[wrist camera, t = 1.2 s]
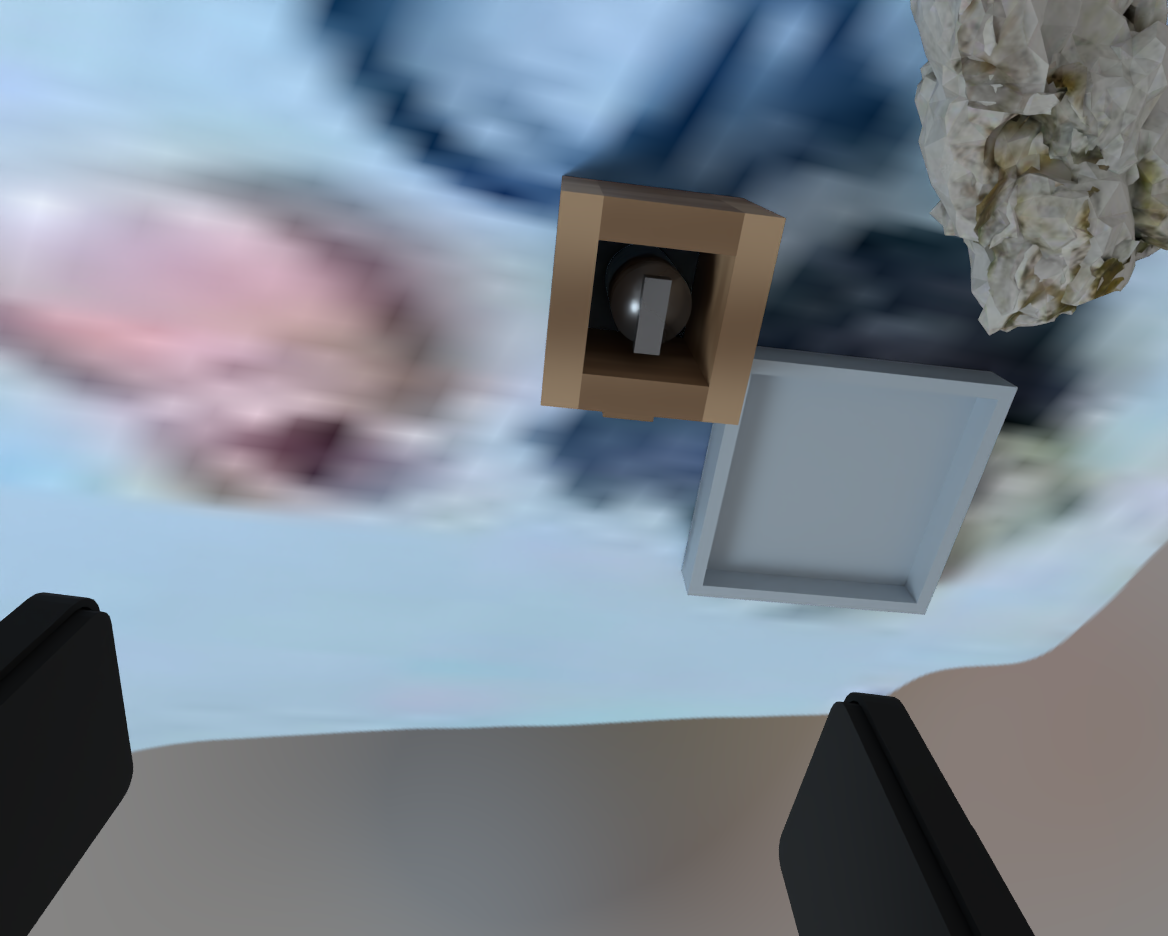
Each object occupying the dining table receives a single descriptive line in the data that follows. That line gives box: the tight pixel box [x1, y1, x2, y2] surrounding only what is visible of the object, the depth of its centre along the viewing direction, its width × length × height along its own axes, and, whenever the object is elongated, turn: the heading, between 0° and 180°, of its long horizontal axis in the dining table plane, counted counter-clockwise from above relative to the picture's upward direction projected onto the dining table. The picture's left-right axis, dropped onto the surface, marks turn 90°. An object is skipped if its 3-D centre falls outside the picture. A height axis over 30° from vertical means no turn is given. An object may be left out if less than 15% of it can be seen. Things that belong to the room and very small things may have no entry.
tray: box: [681, 346, 1018, 615], centre depth 32 cm, size 12×12×2 cm
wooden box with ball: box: [541, 176, 786, 425], centre depth 26 cm, size 8×7×6 cm
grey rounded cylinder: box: [605, 244, 692, 355], centre depth 26 cm, size 3×3×5 cm
